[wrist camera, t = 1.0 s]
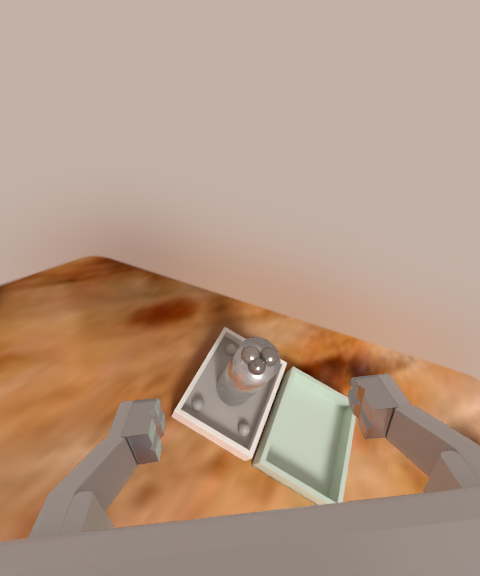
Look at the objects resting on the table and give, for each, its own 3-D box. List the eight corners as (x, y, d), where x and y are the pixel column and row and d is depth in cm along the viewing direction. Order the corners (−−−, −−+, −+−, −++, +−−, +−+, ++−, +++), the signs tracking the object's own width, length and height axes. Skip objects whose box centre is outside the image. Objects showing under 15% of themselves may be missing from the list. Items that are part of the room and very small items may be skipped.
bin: (251, 465, 36) (259, 462, 34) (285, 373, 45) (293, 366, 43) (327, 511, 35) (341, 512, 33) (346, 408, 44) (357, 403, 42)
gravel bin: (171, 416, 37) (173, 411, 35) (220, 335, 46) (224, 326, 43) (244, 461, 36) (252, 458, 34) (279, 369, 45) (287, 362, 43)
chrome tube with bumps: (210, 394, 38) (233, 360, 29) (226, 364, 42) (251, 324, 32) (242, 413, 38) (275, 385, 29) (255, 381, 41) (290, 346, 32)
